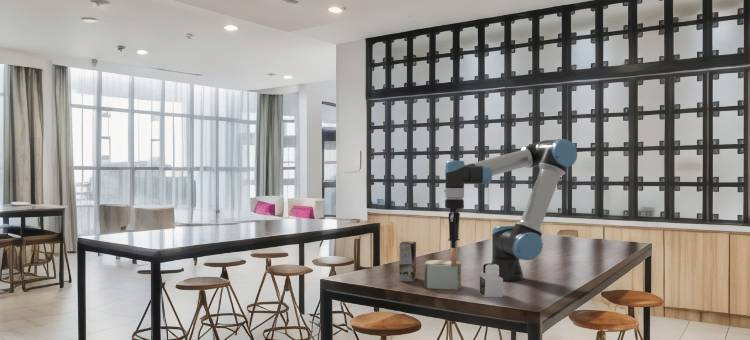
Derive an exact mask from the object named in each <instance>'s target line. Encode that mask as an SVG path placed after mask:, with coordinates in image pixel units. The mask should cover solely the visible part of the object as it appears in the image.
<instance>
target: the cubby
mask: <svg viewBox="0 0 750 340" xmlns="http://www.w3.org/2000/svg"><path fill="white" fill-rule="evenodd" d="M425 265H450V266H451V260H442V259H441V260H438V259H437V260H436V259H426V261H425V262H424V266H425ZM456 266H458V273H457V290H458V291H459V290H461V286H462V285H461V284H462V283H461V281H462V276H461V275H462V273H461V272H462V270H461V269H462V261H461V260H456ZM429 289H433V288H429ZM452 290H454V291H455V289H452ZM457 290H456V291H457Z"/></svg>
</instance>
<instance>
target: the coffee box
mask: <svg viewBox="0 0 750 340" xmlns="http://www.w3.org/2000/svg"><path fill="white" fill-rule="evenodd" d="M398 253H399V262H398V264H399V265H398V266H399V268H398V269H399V270H398V275H399V276H398V281H399V282H410V283H411V282H412V283H414V281H415V280H416V278H417V241H401V242H400V243H399V252H398Z"/></svg>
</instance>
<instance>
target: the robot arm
mask: <svg viewBox="0 0 750 340" xmlns="http://www.w3.org/2000/svg"><path fill="white" fill-rule="evenodd" d="M577 158H578V150H577V148H576V146H575V144H574V143H573V142H572V141H570V140H569V139H565V138H558V139H548V140H547V139H545V140H542V141H538V142H535V143H533V144H530V145H527V146H523V147H521V148H520V150H517V151H514V152H510V153H505V154H503V155H499V156H495V157H491V158H488V159H484V160H479V161H476V162H472V163H469V164H465V161H464V160H447V161H446V162H445V171H444V175H445V181H444V183H445V189H444V190H443V193H444V195H445V196H444V197H445V200H444V207H445V209H449V213H448V229H449V231H448V232H449V234H448V235H449V238H448V240H447V241H448V242H449V243H450V244H449V245H450V246H449V257H450V258H451V248H456V258H458V242H459V241H460V238H459V232H460V231H459V230H460V217H461V216H460V215H461V213H460V212H459V209H460V210H461V209H464V208H465V207H464V205H465V200H464V198H465V185H489V184H490V183H491V181H492V180H493V176H497V175H499V174H503V173H507V172H510V171H514V170H518V169H522V168H526V169H530V168H536V167H539V172H538V175H537V178H536V181H535V183H534V185H533V188H532V191H531V193H530V195H529V198H528V201H527V203H526V205H525V209H524V211H523V214H522V216H521V218H520V220H518V221H516V222H515V224H514V225H502V226H501V225H500V226H494V227H493V228H492V233H491V236H492V239H491V240H492V241H491V242H492V244H491V246H492V247H491V249H492V252H491V253H492V255H491V257H492V258H491V262H490V263H493V264H497V265H499V275H498V276H499V277H501V278H503V282H513V281H514V282H515V281H517V282H518V281H522V280H523V279H524V272H523V269H522V266H521V263H520V260H521V261H530V260H534V259H537V257H538V256H539V255H540V254H541V252H542V249H543V248H544V247H543V244H544V243H543V239H542V235H543V232H542V231H543V230H541V228H542V225H543V222H544V219H545V217H546V215H547V212H548V209H549V206H550V204H551V202H552V199H553V196H554V193H555V191H556V190H557V189H556V188H557V185H558V183H559V181H560V178H561V177H562V176H565V175H566V173H567V170H568V168H570V167H571V166H572V165H574V164H575V163H576V161H577Z"/></svg>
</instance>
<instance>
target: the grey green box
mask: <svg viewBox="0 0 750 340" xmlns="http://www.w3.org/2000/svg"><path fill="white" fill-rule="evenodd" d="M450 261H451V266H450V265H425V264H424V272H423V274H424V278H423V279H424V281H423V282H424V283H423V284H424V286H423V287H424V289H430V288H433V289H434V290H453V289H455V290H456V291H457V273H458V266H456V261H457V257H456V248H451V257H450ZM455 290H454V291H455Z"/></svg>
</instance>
